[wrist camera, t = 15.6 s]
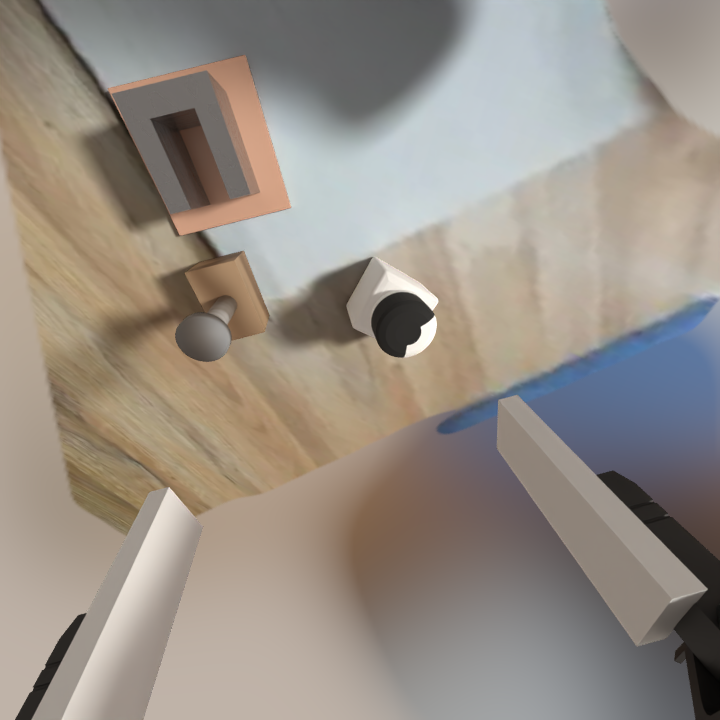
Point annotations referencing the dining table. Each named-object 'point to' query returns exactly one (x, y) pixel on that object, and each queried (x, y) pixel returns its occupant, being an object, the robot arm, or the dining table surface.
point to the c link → (166, 146)
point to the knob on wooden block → (221, 307)
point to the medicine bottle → (393, 310)
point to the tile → (256, 142)
